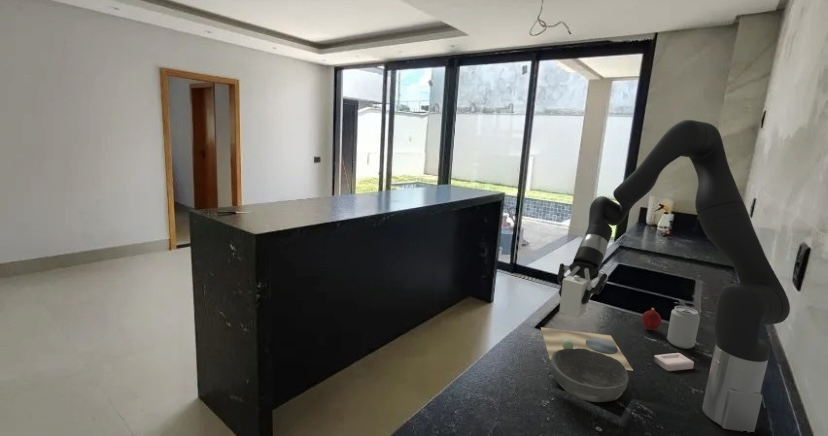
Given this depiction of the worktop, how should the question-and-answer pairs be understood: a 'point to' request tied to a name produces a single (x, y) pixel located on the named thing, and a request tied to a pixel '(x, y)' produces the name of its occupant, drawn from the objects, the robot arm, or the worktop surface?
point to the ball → (567, 344)
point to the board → (583, 343)
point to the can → (683, 327)
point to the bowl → (589, 374)
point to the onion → (651, 319)
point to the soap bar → (673, 362)
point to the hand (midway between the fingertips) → (572, 299)
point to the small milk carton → (573, 296)
